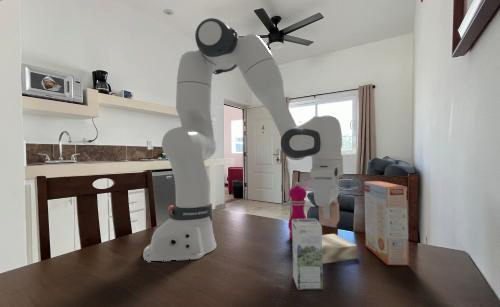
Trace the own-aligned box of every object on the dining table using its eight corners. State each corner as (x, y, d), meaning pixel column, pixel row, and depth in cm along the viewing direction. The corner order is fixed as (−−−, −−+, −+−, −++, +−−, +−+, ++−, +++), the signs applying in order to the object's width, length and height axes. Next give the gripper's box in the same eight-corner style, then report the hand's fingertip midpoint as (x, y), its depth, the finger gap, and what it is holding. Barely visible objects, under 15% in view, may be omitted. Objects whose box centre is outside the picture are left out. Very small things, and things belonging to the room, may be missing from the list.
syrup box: (316, 277, 59) (314, 217, 59) (323, 290, 53) (322, 224, 53) (292, 277, 59) (291, 217, 59) (297, 291, 53) (295, 224, 53)
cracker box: (410, 266, 63) (408, 186, 64) (386, 266, 64) (384, 186, 64) (384, 246, 77) (382, 180, 78) (365, 246, 78) (363, 180, 78)
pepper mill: (310, 242, 83) (308, 183, 83) (288, 241, 84) (287, 183, 84) (308, 235, 90) (307, 180, 90) (288, 234, 91) (287, 180, 91)
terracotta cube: (337, 223, 70) (336, 206, 70) (319, 222, 72) (318, 205, 72) (339, 219, 74) (338, 203, 74) (322, 218, 77) (322, 202, 77)
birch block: (323, 265, 66) (323, 250, 66) (304, 250, 77) (303, 237, 77) (357, 259, 69) (357, 245, 69) (334, 245, 80) (334, 233, 80)
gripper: (323, 167, 84) (324, 207, 84) (308, 171, 66) (310, 223, 66) (342, 167, 81) (344, 208, 81) (333, 171, 63) (335, 225, 63)
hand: (329, 215), depth 73 cm, fingers closed on terracotta cube, 5 cm apart
